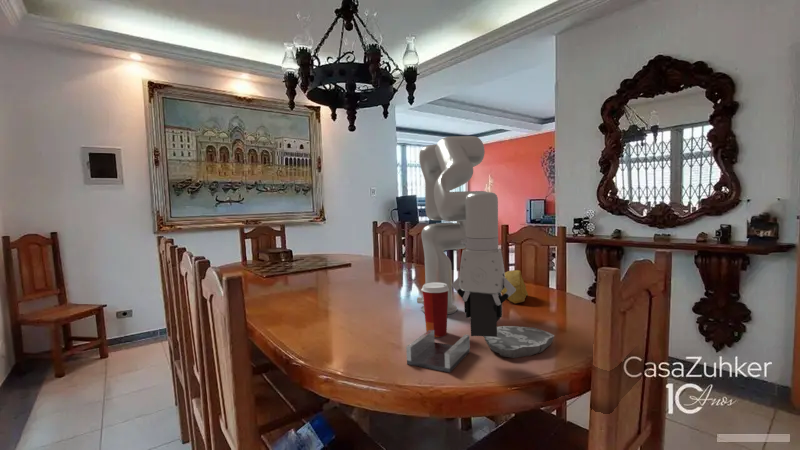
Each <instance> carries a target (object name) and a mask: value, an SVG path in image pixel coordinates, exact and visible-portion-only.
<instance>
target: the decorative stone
mask: <svg viewBox="0 0 800 450" xmlns="http://www.w3.org/2000/svg"><path fill="white" fill-rule="evenodd" d="M504 272H505V278H506V279H507V280H508V281H509V282H510V283H511V284H512V285H513V287H514V288H515V289H516V291H515V292H514V293H513V294H512V295H511V296H510V297H508V298H507V299H506V300H508V301H509V302H511V303H513V304H519V303H523V302H525V299H526V298H527V296H529V295H528V291H527V285H526V283H525V281H524V278H523V276H522V271H521V270H518V269H516V270H507V271H504ZM506 292H507V289H506V288H504V289H503V290H502V291H501V294H502V295H504V294H505V293H506Z"/></svg>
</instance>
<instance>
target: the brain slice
mask: <svg viewBox="0 0 800 450" xmlns="http://www.w3.org/2000/svg"><path fill="white" fill-rule="evenodd" d="M482 337H483V338H484V340H485V343H486V344H487V346H488V347H489V348H490V349H491V351H492V352H493V353H497V354H499V356H501V357H504V358H512V359H517V358H521V357H530V356H533V355H536V354H540V353H543V351H544V350H546V349H547V348H548V347H549V346H551V344H552V343H553V341H554V338H555V334H554V333H551V332H549V331H546V330H543V329H541V328H537V327H529V326H528V327H527V326H517V325H502V326H498V325H497V337H490V336H482Z"/></svg>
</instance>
